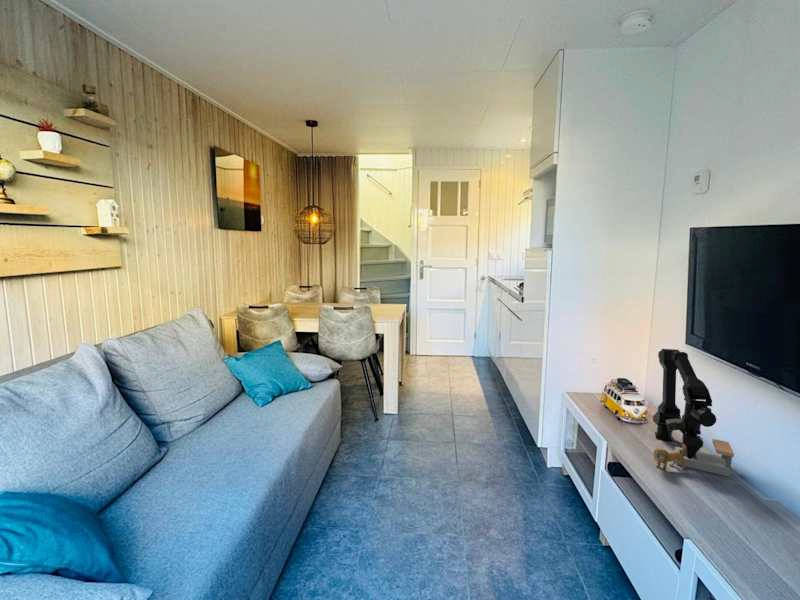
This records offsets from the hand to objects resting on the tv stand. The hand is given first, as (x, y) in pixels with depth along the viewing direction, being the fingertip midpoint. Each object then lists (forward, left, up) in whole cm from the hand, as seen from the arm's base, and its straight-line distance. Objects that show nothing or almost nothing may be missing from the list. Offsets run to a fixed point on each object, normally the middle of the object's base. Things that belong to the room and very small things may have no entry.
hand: (688, 453), depth 168 cm
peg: (0, 0, -3) cm, 3 cm away
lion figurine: (+11, -7, -4) cm, 13 cm away
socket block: (0, +5, -3) cm, 6 cm away
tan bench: (0, +11, -3) cm, 11 cm away
